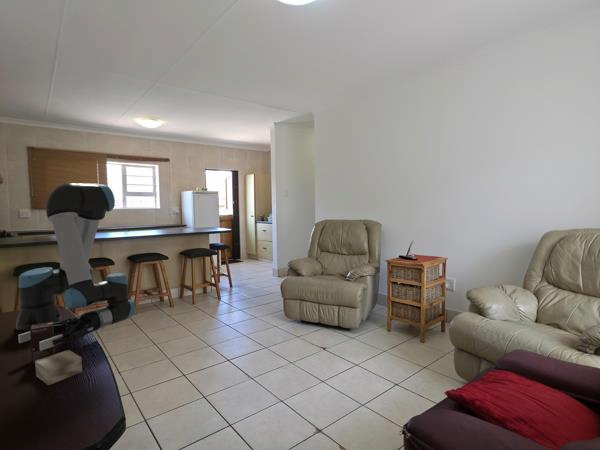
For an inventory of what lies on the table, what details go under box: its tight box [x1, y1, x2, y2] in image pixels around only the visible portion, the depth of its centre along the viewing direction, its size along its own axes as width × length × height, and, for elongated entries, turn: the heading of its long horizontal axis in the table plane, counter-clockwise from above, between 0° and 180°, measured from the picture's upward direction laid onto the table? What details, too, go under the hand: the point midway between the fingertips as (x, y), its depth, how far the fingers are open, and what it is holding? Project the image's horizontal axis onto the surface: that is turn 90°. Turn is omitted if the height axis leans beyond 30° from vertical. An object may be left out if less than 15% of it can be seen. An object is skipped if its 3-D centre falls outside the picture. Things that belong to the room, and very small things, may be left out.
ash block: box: [34, 349, 83, 386], centre depth 103 cm, size 9×9×5 cm
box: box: [30, 322, 56, 365], centre depth 111 cm, size 6×4×12 cm
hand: (29, 342), depth 108 cm, fingers open, 11 cm apart
